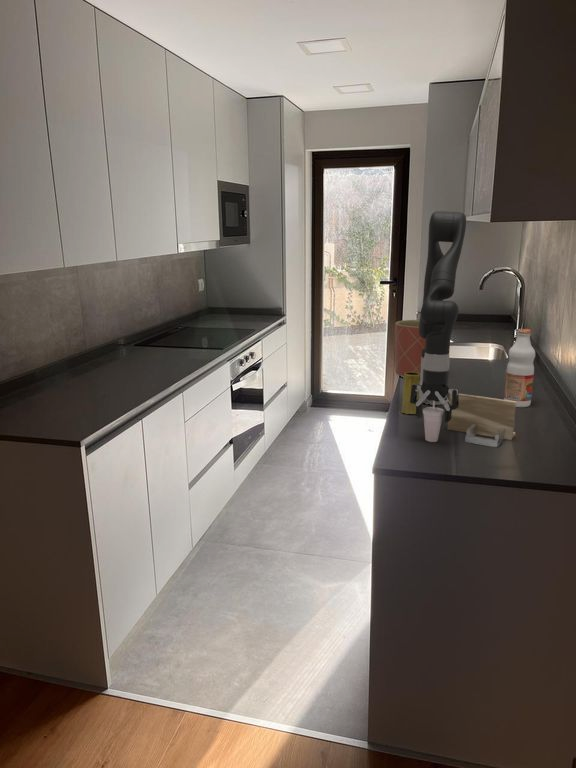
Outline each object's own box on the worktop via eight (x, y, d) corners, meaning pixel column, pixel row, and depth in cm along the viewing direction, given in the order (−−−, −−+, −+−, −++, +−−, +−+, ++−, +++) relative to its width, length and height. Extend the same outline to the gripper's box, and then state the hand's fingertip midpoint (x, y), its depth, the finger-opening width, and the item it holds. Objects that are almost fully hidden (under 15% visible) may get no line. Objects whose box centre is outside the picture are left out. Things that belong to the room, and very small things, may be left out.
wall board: (452, 424, 196) (454, 389, 193) (515, 435, 186) (518, 398, 183) (447, 429, 192) (449, 393, 189) (511, 440, 182) (515, 402, 179)
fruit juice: (501, 400, 225) (508, 327, 218) (527, 401, 224) (535, 328, 217) (505, 407, 216) (512, 331, 210) (532, 408, 215) (540, 332, 208)
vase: (416, 409, 213) (418, 371, 210) (420, 414, 207) (422, 375, 204) (399, 410, 213) (401, 371, 209) (403, 415, 207) (405, 375, 203)
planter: (441, 370, 275) (444, 320, 269) (448, 382, 253) (452, 327, 247) (391, 369, 277) (393, 319, 271) (394, 380, 255) (397, 326, 250)
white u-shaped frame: (473, 433, 188) (473, 423, 187) (504, 438, 183) (505, 428, 182) (464, 441, 180) (465, 430, 179) (497, 447, 175) (498, 436, 175)
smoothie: (421, 442, 179) (424, 398, 176) (420, 436, 186) (422, 392, 182) (443, 444, 178) (446, 399, 175) (441, 437, 185) (444, 393, 181)
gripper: (463, 368, 176) (459, 420, 180) (417, 362, 183) (414, 413, 187) (456, 372, 170) (452, 426, 173) (408, 367, 177) (406, 419, 181)
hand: (433, 419), depth 180 cm, fingers open, 8 cm apart
